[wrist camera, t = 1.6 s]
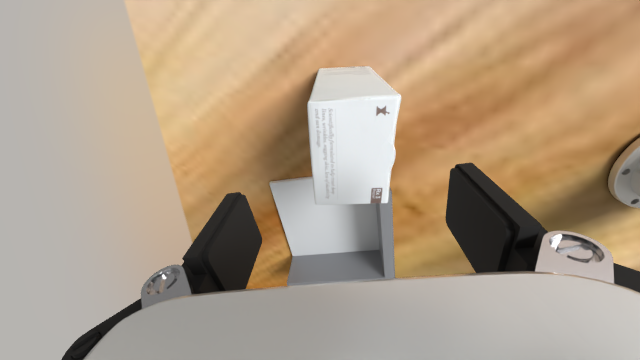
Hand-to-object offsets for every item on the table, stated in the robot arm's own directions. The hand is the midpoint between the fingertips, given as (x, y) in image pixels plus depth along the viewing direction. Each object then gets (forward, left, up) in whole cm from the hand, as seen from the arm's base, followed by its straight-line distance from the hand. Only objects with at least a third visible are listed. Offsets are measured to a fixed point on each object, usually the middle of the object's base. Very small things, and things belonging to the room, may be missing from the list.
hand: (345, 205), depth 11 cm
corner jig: (+4, +17, -20) cm, 27 cm away
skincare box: (0, 0, -21) cm, 21 cm away
